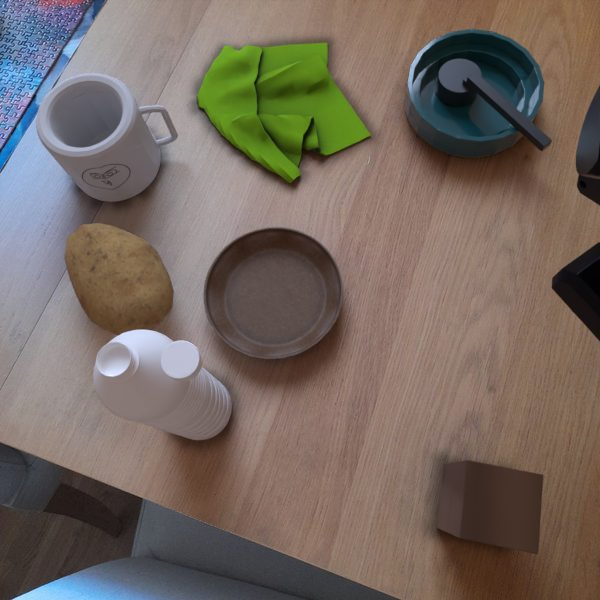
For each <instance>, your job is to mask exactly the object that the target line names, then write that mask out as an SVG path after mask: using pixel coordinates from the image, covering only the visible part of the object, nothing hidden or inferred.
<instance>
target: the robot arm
mask: <svg viewBox="0 0 600 600" xmlns="http://www.w3.org/2000/svg"><path fill="white" fill-rule="evenodd" d="M575 169H576V172H577V174H578V177H577V181H576V188H577V190H578V193H580V195H582V196H584V197H585V198H586V199H589V201H590V200H591V201H592V202H593V203H595V204H596V205H598V206H600V85H599V86H598V87H597V89H596V91H595V93H594V95H593V98H592V100H591V102H590V104H589V106H588V109H587V111H586V114H585V116H584V120H583V122H582V126H581V130H580V133H579V136H578V140H577V145H576V151H575ZM551 289H552V291H553V292H554V293H555V294H556V295H557V296H558V297H559V298H560V300H561V301H562V302H563V303H564V304H565V305H566V306H567V307H568V308H569V310H571V312H573V314H574V315H575V316H576V317H577V318H578V319H579V320H580V321H581V323H582V324H583V325H584V326H585V327H586V328H587V329H588V331H590V333H591V334H592V335H593V336H594V337H595V338H596V339H597V340H598V341H599V342H600V241H598V242H597V243H596V244H594V245H593V246H591V247H589V248H588V249H587V250H586V251H584V252H583V253H581V254H580V255H578V256H577V257H576V258H574V259H573V260H572V261H570V262H569V263H567V264H566V265H565V266H563V267H562V268H561V269H560V270H559V271H557V272H556V274H554V275H553V276H552V277H551Z"/></svg>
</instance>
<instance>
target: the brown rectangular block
mask: <svg viewBox="0 0 600 600" xmlns="http://www.w3.org/2000/svg"><path fill="white" fill-rule="evenodd" d="M543 484H544V475H543V474H542V473H537V472H532V471H527V470H522V469H516V468H512V467H506V466H501V465H496V464H490V463H485V462H480V461H475V460H470V459H468V460H467V459H466V460H461V461H454V462H448V463H444V464H443V468H442V477H441V486H440V495H439V504H438V511H437V512H438V513H437V521H436V528H437V529H439V530H441V531H442V532H445V533H447V534H450V535H452V536H453V537H457V538H458V539H461V540H466V541H471V542H476V543H481V544H486V545H489V546H490V545H491V546H495V547H499V548H505V549H509V550H514V551H519V552H524V553H527V554H528V553H529V554H534V555H539V548H540V535H541V534H540V533H541V519H542V518H541V517H542V500H543V486H544V485H543Z"/></svg>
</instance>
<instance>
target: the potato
mask: <svg viewBox="0 0 600 600" xmlns="http://www.w3.org/2000/svg"><path fill="white" fill-rule="evenodd" d="M64 251H65V252H64V262H65V263H64V264H65V266H66V270H67V274H68V278H69V281H70V284H71V287H72V288H73V291H74V294H75V297H76V298H77V300H78V302H79V305H80V307H81V309H82V310H83V312H84V313H85V314H86V316H87V318H88V319H89V321H90V322H91V323H93V324H94V325H96V326H98V328H100V329H102V330H103V331H106V332H109V333H111V334H113V335H116V336H118V335H120V334H122V333H125V332H128V331H132V330H152V329H154V328H156V327H159V326H160V325H161V323H162V322H163V321H164V320H165V318H166V317H167V316H168V315H169V313H170V311H172V309H173V301H174V294H175V293H174V292H175V291H174V286H173V284H172V279H171V277H170V274H169V272H168V270H167V267H166V266H165V264H164V262H163V259H162V257H161V256H160V254H159V252H158V251H157V250H156V248H155V247H153V245H151V243H149V242H148V240H146V239H144V237H141V236H138V235H136V234H134V233H131V232H129V231H127V230H125V229H122V228H120V227H117V226H115V225H111V224H106V223H102V222H95V223H84V224H80V225H79V227H77V228H76V229H75V230H74V231H72V233H70V234H69V235H68V236H67V237H66V243H65V249H64Z"/></svg>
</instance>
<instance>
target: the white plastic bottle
mask: <svg viewBox="0 0 600 600" xmlns="http://www.w3.org/2000/svg"><path fill="white" fill-rule="evenodd" d="M203 363H204V359H203V354H202V352H201V351H200V349H199V348H198V347H197V346H196V345H195V344H193V343H192V342H190V341H187V340H183V339H181V340H175V341H174V340H172V339H171V338H169V337H168V336H167V335H165V334H163V333H161V332H158V331H156V330H152V329H150V330H132V331H128V332H125V333H122V334H120V335H116V336H115V337H114V338H112V339H111V340H110V341H109V342H107V343H106V344H105V345H103V346H102V347H101V348H100V349H99V351H98V352H97V354H96V357H95V363H94V367H93V371H92V373H93V374H92V376H93V377H92V382H93V386H94V390H95V393H96V396H97V398H98V400H99V401H100V402H101V404H102V405H103V406H104V408H105V409H106V410H108V411H109V412H110V413H111V414H113V415H114V416H117V417H118V418H121V419H123V420H126V421H131V422H134V423H138V424H142V425H144V426H147V427H151V428H154V429H157V430H159V431H162V432H166V433H170V434H173V435H176V436H179V437H183V438H186V439H190V440H193V441H205V440H209V439H211V438H213V437H215V436H217V435H218V434H220V433H221V432H222V431H223V430H224V429H225V428H226V427H227V425H228V423H229V421H230V418H231V416H232V411H233V404H232V403H233V402H232V398H231V395H230V392H229V391H228V389H227V388H226V386H225V385H224V384H223V383H222V382H220V381H219V380H218V379H217V378H216V377H214V375H213V374H211V373H210V372H209V371H208V370H206V369H205V368H204V366H203Z"/></svg>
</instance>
